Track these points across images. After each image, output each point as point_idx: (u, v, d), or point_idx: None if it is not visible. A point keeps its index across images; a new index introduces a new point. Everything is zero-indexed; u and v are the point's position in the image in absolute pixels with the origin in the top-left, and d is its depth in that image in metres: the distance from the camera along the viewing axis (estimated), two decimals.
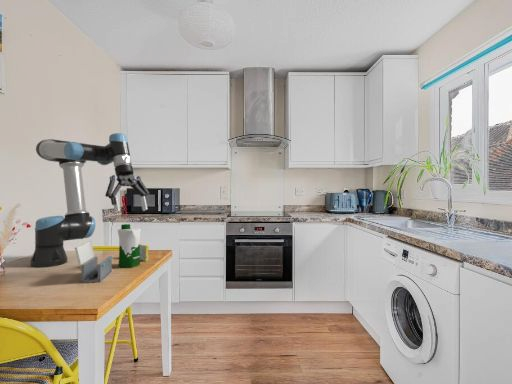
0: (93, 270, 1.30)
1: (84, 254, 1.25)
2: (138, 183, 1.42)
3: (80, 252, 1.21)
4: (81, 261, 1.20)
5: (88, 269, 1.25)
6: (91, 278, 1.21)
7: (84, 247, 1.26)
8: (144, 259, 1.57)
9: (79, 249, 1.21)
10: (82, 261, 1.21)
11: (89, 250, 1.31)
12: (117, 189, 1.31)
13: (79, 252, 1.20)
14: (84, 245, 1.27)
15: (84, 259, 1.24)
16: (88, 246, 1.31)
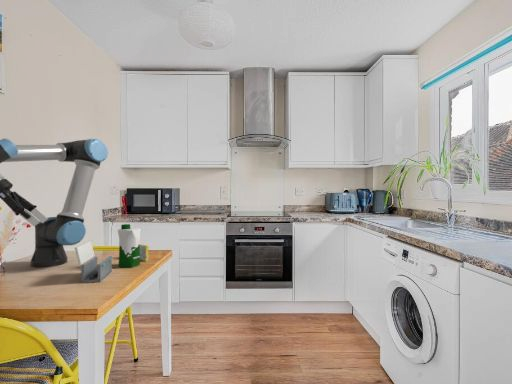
0: (93, 270, 1.30)
1: (84, 254, 1.25)
2: None
3: (80, 252, 1.21)
4: (81, 261, 1.20)
5: (88, 269, 1.25)
6: (91, 278, 1.21)
7: (84, 247, 1.26)
8: (144, 259, 1.57)
9: (79, 249, 1.21)
10: (82, 261, 1.21)
11: (89, 250, 1.31)
12: None
13: (79, 252, 1.20)
14: (84, 245, 1.27)
15: (84, 259, 1.24)
16: (88, 246, 1.31)
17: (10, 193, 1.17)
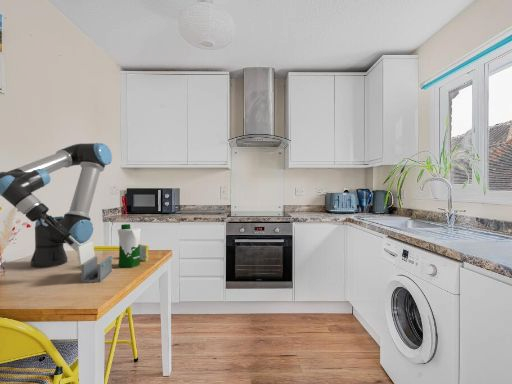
0: (93, 270, 1.30)
1: (85, 254, 1.25)
2: None
3: (81, 251, 1.22)
4: (81, 261, 1.20)
5: (88, 269, 1.25)
6: (91, 278, 1.21)
7: (86, 247, 1.27)
8: (144, 259, 1.57)
9: (81, 249, 1.21)
10: (82, 261, 1.21)
11: (90, 250, 1.31)
12: None
13: (80, 252, 1.20)
14: (86, 245, 1.27)
15: (84, 259, 1.24)
16: (89, 246, 1.31)
17: (47, 218, 1.21)
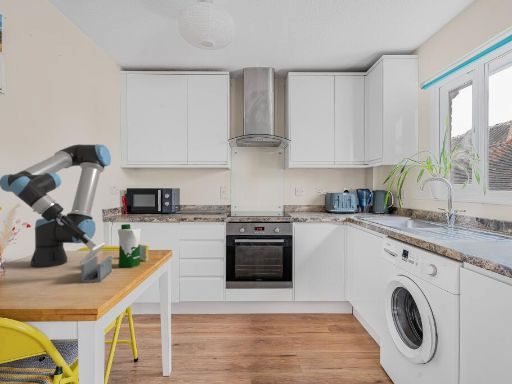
0: (93, 270, 1.30)
1: (91, 255, 1.25)
2: None
3: (91, 254, 1.22)
4: (84, 261, 1.21)
5: (88, 269, 1.25)
6: (91, 278, 1.21)
7: (96, 250, 1.27)
8: (144, 259, 1.57)
9: (93, 251, 1.22)
10: (84, 261, 1.21)
11: (97, 251, 1.31)
12: None
13: (90, 254, 1.21)
14: (98, 248, 1.28)
15: (87, 259, 1.24)
16: (99, 248, 1.32)
17: (62, 217, 1.23)
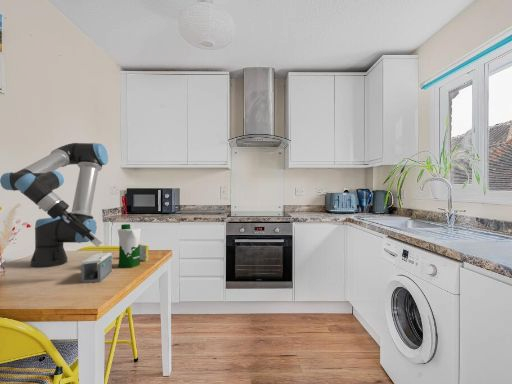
0: (93, 270, 1.30)
1: None
2: None
3: None
4: None
5: (88, 269, 1.25)
6: (91, 278, 1.21)
7: None
8: (144, 259, 1.57)
9: None
10: None
11: None
12: None
13: None
14: None
15: None
16: None
17: (68, 215, 1.23)
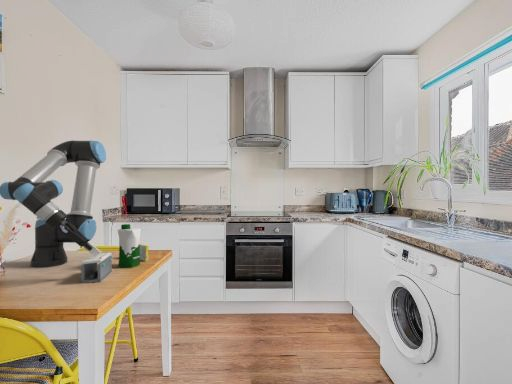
0: (93, 270, 1.30)
1: None
2: None
3: None
4: None
5: (88, 269, 1.25)
6: (91, 278, 1.21)
7: None
8: (144, 259, 1.57)
9: None
10: None
11: None
12: None
13: None
14: None
15: None
16: None
17: (66, 225, 1.22)
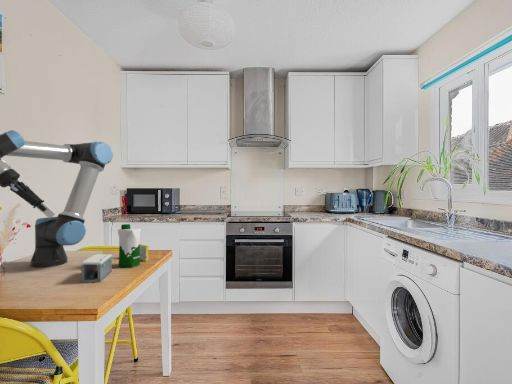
0: (93, 270, 1.30)
1: None
2: None
3: None
4: None
5: (88, 269, 1.25)
6: (91, 278, 1.21)
7: None
8: (144, 259, 1.57)
9: None
10: None
11: None
12: None
13: None
14: None
15: None
16: None
17: (18, 184, 1.19)
